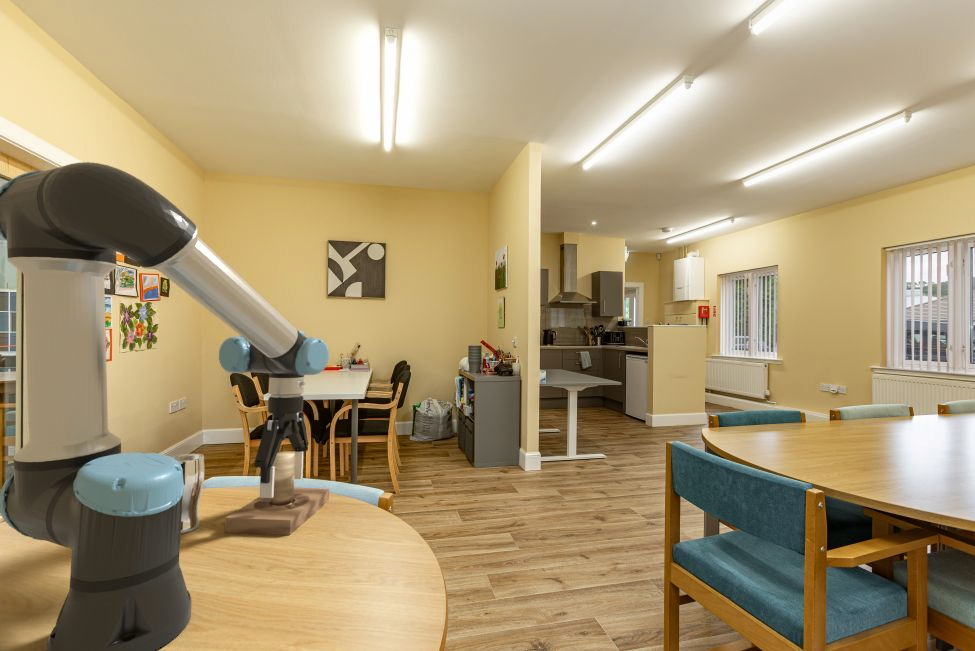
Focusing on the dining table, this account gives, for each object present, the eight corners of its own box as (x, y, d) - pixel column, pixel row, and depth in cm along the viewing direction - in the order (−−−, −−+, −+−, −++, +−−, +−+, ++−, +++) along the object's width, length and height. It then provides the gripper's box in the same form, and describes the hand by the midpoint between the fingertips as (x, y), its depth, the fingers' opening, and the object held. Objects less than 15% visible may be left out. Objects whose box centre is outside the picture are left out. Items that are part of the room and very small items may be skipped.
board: (290, 534, 92) (290, 520, 92) (224, 532, 92) (225, 517, 92) (328, 500, 112) (329, 488, 112) (275, 498, 112) (275, 486, 112)
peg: (286, 519, 100) (289, 456, 100) (265, 518, 100) (268, 456, 100) (296, 511, 104) (298, 451, 105) (276, 510, 104) (278, 450, 105)
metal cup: (186, 536, 90) (190, 462, 91) (153, 535, 90) (157, 461, 91) (209, 522, 97) (212, 453, 98) (178, 521, 97) (181, 453, 98)
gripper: (273, 402, 91) (269, 507, 90) (324, 390, 115) (321, 472, 114) (238, 401, 91) (233, 506, 90) (296, 389, 116) (292, 471, 115)
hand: (282, 487), depth 102 cm, fingers open, 13 cm apart
